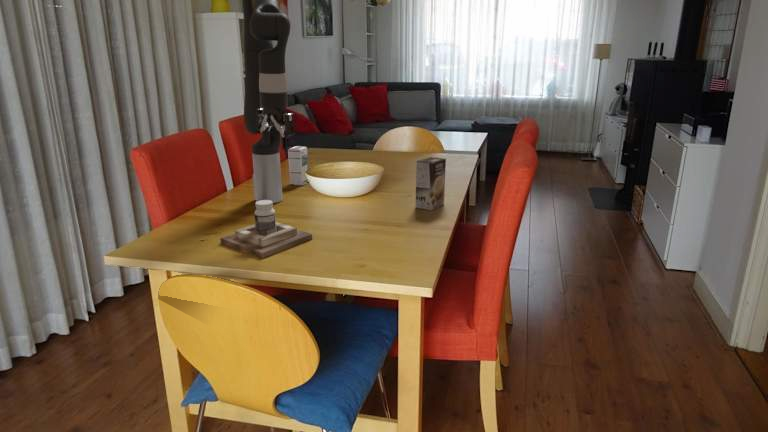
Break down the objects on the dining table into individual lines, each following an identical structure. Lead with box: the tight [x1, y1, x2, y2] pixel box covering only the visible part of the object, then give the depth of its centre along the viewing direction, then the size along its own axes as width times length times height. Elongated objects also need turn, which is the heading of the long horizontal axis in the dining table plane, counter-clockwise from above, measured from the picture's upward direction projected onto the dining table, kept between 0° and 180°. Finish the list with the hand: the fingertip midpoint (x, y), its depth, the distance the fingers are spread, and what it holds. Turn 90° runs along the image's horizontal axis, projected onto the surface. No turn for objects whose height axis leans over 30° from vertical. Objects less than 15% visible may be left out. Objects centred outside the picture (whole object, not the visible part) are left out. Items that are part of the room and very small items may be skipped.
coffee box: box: [415, 156, 447, 211], centre depth 178 cm, size 9×6×16 cm
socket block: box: [219, 221, 313, 259], centre depth 149 cm, size 18×18×4 cm
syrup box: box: [287, 145, 310, 186], centre depth 208 cm, size 6×6×14 cm
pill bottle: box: [253, 200, 277, 236], centre depth 147 cm, size 6×6×10 cm
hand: (276, 147), depth 151 cm, fingers open, 8 cm apart
